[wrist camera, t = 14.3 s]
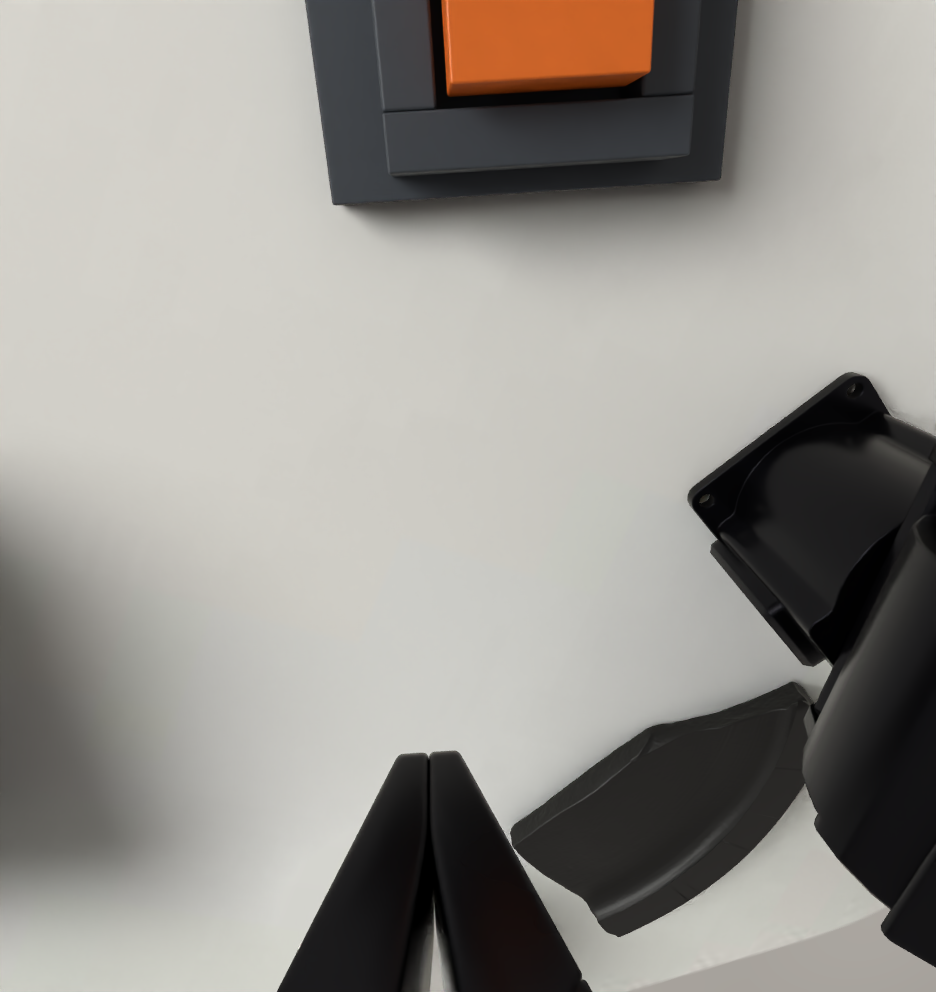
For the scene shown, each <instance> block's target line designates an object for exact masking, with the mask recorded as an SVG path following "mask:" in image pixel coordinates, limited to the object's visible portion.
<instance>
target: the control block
mask: <svg viewBox="0 0 936 992" xmlns="http://www.w3.org/2000/svg"><path fill="white" fill-rule="evenodd" d="M305 3H306V11H307V18H308V25H309V33H310V40H311V48H312V55H313V63H314V70H315V77H316V85H317V92H318V100H319V107H320V114H321V122H322V129H323V137H324V144H325V152H326V159H327V166H328V174H329V181H330V189H331V196H332V203H333V205H348V204H363V203H379V202H394V201H410V200H425V199H440V198H456V197H471V196H487V195H502V194H518V193H533V192H549V191H564V190H579V189H595V188H610V187H626V186H641V185H657V184H672V183H687V182H703V181H717V180H720V178H721V170H722V160H723V149H724V139H725V129H726V118H727V108H728V98H729V87H730V77H731V67H732V56H733V46H734V36H735V25H736V15H737V5H738V0H655V1H654V20H653V39H652V59H651V71H650V72H649V73H648V74H646V75H644V76H642V77H640V78H639V79H637V80H635V81H633V82H632V83H630V84H628V85H626V86H625V87H610V88H593V89H576V90H559V91H543V92H526V93H509V94H492V95H475V96H458V97H449V96H448V95H447V84H446V68H445V52H444V36H443V20H442V3H441V0H305Z"/></svg>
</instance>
